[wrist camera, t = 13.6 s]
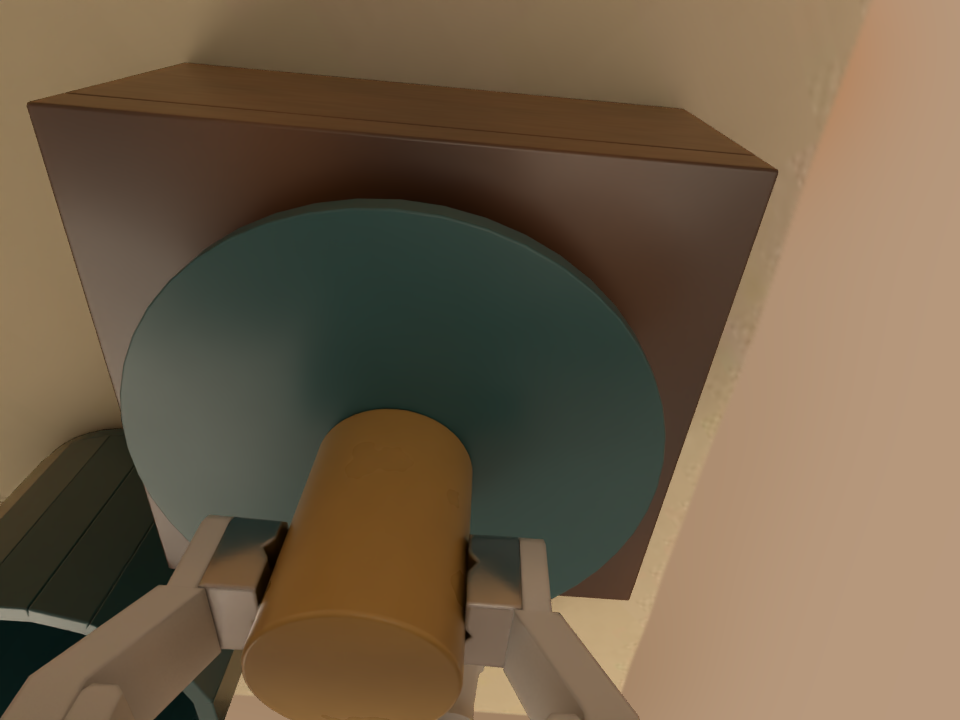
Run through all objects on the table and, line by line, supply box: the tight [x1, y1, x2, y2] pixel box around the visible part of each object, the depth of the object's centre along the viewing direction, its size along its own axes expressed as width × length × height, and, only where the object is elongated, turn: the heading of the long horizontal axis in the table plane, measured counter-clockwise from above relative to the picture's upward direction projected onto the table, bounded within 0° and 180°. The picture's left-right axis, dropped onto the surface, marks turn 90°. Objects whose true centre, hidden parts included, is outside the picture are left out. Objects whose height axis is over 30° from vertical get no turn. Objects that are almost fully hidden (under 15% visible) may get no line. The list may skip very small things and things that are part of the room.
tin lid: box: [120, 198, 666, 720], centre depth 12 cm, size 12×12×6 cm
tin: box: [0, 428, 243, 720], centre depth 24 cm, size 11×11×8 cm
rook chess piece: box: [437, 664, 484, 720], centre depth 28 cm, size 4×4×8 cm
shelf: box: [27, 63, 778, 600], centre depth 18 cm, size 15×14×7 cm
